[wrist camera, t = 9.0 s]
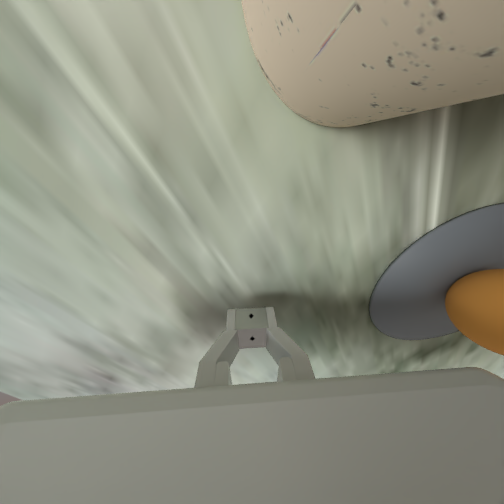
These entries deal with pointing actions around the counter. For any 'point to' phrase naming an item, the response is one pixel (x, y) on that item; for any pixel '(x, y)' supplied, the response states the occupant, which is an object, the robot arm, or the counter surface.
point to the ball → (479, 308)
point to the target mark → (436, 274)
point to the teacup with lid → (377, 55)
